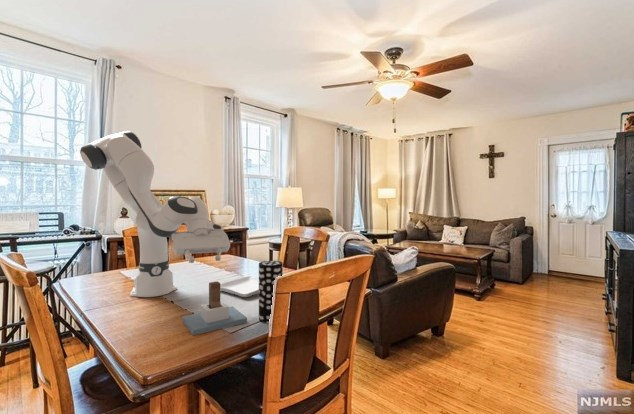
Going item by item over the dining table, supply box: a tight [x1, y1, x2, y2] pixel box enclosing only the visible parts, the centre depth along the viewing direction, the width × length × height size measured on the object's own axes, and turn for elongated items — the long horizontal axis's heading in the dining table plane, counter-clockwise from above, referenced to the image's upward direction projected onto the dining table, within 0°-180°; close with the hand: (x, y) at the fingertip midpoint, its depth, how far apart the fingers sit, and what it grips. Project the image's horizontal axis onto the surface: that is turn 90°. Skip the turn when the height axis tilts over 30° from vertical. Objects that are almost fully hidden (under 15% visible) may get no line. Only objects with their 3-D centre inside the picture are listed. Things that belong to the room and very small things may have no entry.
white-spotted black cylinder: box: [258, 260, 284, 324], centre depth 110 cm, size 8×8×20 cm
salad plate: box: [220, 275, 259, 298], centre depth 144 cm, size 21×21×3 cm
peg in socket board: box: [182, 300, 248, 336], centre depth 108 cm, size 14×18×6 cm
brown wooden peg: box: [208, 281, 221, 309], centre depth 107 cm, size 3×3×12 cm
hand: (205, 260), depth 113 cm, fingers open, 8 cm apart
